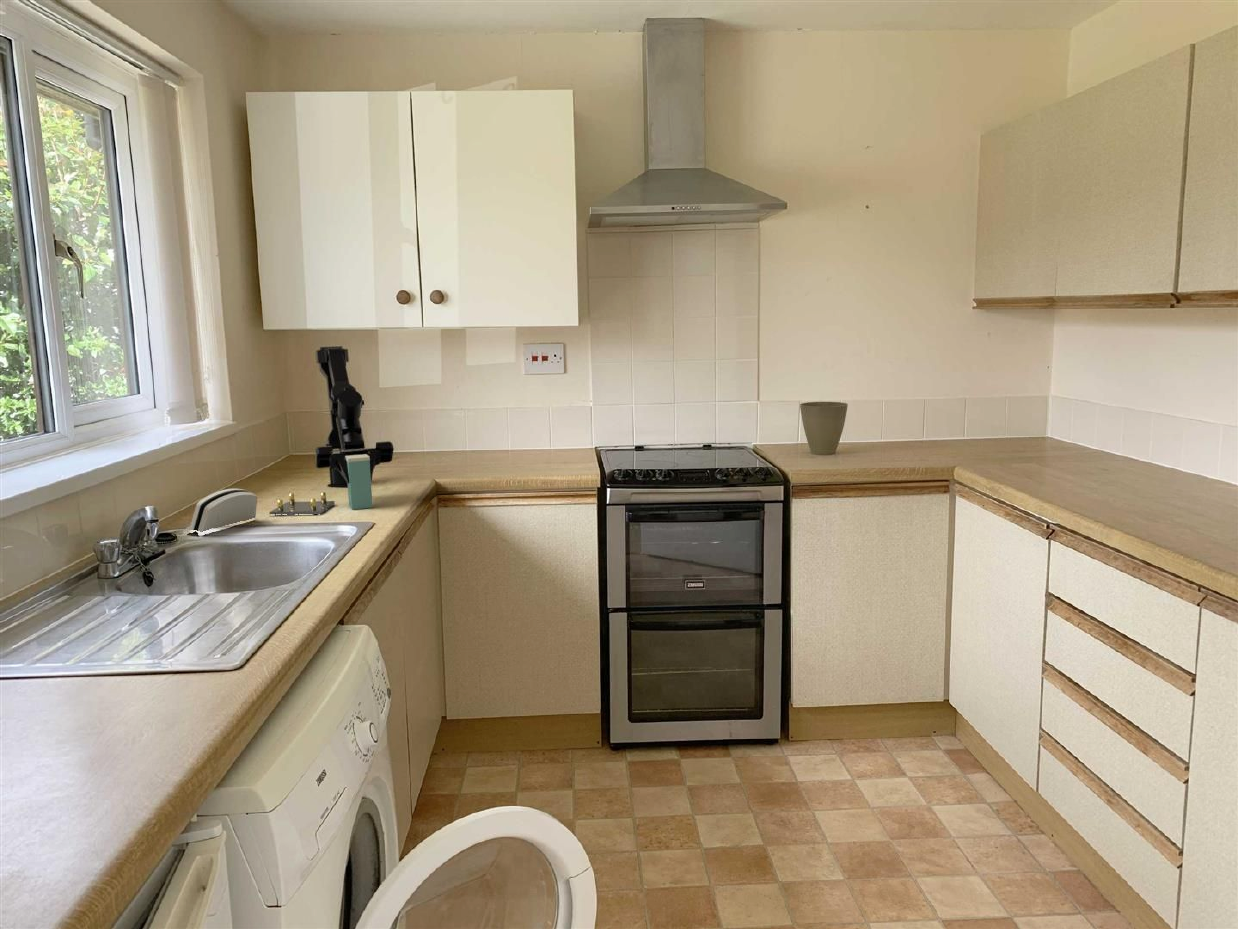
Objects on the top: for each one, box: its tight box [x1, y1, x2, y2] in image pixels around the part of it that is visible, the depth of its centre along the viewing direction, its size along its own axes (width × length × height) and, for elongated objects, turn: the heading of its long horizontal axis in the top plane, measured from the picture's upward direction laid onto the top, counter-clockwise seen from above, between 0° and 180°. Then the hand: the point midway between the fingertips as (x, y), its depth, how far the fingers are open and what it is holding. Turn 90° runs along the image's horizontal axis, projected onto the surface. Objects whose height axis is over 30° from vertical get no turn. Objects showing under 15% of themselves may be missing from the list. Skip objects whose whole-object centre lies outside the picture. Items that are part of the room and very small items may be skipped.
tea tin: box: [345, 454, 374, 511], centre depth 229 cm, size 5×5×13 cm
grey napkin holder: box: [185, 488, 258, 532], centre depth 210 cm, size 17×5×10 cm, turn 158°
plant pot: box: [799, 401, 849, 456], centre depth 295 cm, size 15×15×16 cm
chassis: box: [269, 492, 335, 515], centre depth 227 cm, size 12×12×4 cm
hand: (359, 481), depth 227 cm, fingers closed on tea tin, 5 cm apart
